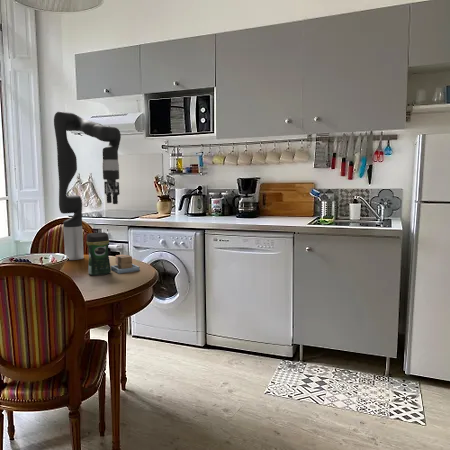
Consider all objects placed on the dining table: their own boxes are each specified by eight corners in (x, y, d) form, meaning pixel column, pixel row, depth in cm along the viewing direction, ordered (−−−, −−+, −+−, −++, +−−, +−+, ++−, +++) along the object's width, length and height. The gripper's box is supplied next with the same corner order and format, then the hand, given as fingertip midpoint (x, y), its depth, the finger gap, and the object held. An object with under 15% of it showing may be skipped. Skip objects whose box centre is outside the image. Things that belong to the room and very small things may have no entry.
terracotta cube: (115, 263, 215) (115, 255, 214) (123, 262, 217) (123, 254, 216) (118, 264, 211) (118, 256, 211) (126, 263, 214) (126, 255, 213)
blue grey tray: (110, 269, 200) (110, 265, 200) (131, 266, 206) (131, 263, 205) (118, 273, 192) (118, 269, 192) (139, 270, 197) (139, 266, 197)
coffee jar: (108, 270, 198) (106, 230, 196) (112, 274, 191) (110, 232, 189) (86, 273, 194) (84, 232, 191) (90, 276, 187) (88, 234, 184)
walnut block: (118, 268, 199) (117, 256, 199) (128, 267, 202) (127, 254, 201) (121, 270, 195) (121, 257, 195) (132, 269, 198) (131, 256, 197)
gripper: (98, 169, 208) (99, 203, 210) (108, 169, 197) (109, 204, 199) (113, 169, 212) (114, 202, 214) (123, 169, 201) (125, 204, 203)
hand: (112, 203), depth 207 cm, fingers open, 8 cm apart
